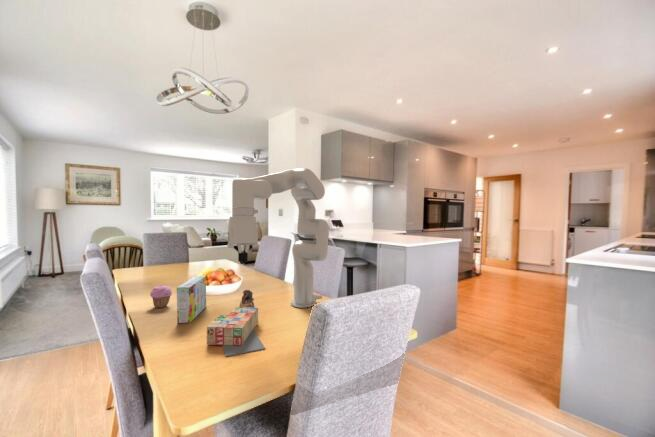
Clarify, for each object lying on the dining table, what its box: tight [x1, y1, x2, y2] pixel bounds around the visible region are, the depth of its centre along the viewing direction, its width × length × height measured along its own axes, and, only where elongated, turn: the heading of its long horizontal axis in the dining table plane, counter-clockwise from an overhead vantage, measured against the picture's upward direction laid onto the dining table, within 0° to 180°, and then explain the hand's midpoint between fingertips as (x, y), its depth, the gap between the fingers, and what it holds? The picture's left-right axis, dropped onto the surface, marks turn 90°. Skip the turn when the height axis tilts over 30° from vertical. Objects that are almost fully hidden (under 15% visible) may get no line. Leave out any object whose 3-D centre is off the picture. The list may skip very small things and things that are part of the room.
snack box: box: [176, 275, 207, 324], centre depth 132 cm, size 21×6×15 cm, turn 5°
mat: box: [221, 328, 266, 358], centre depth 109 cm, size 13×26×1 cm, turn 26°
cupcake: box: [149, 285, 172, 309], centre depth 143 cm, size 9×9×10 cm
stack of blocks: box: [206, 307, 259, 346], centre depth 112 cm, size 21×6×12 cm
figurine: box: [238, 289, 256, 308], centre depth 130 cm, size 7×7×12 cm
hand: (242, 263), depth 109 cm, fingers closed
